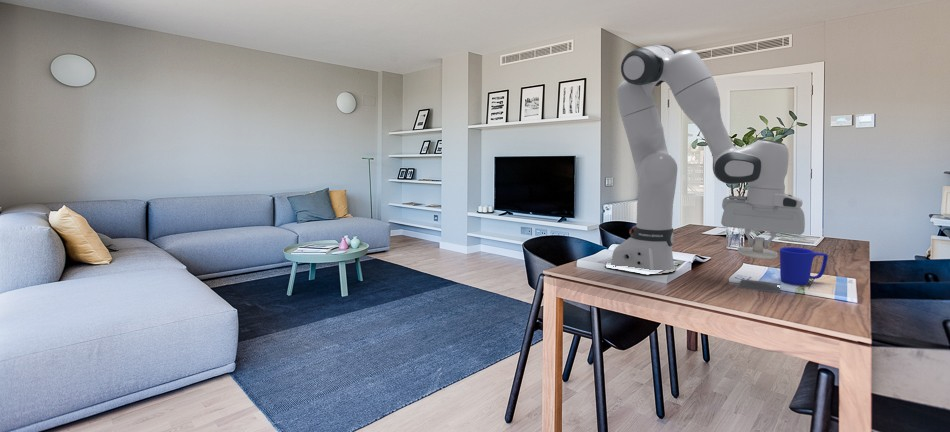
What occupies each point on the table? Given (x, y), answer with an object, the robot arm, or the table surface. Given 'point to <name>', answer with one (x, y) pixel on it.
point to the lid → (758, 250)
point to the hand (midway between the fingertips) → (758, 245)
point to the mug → (798, 265)
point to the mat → (759, 285)
